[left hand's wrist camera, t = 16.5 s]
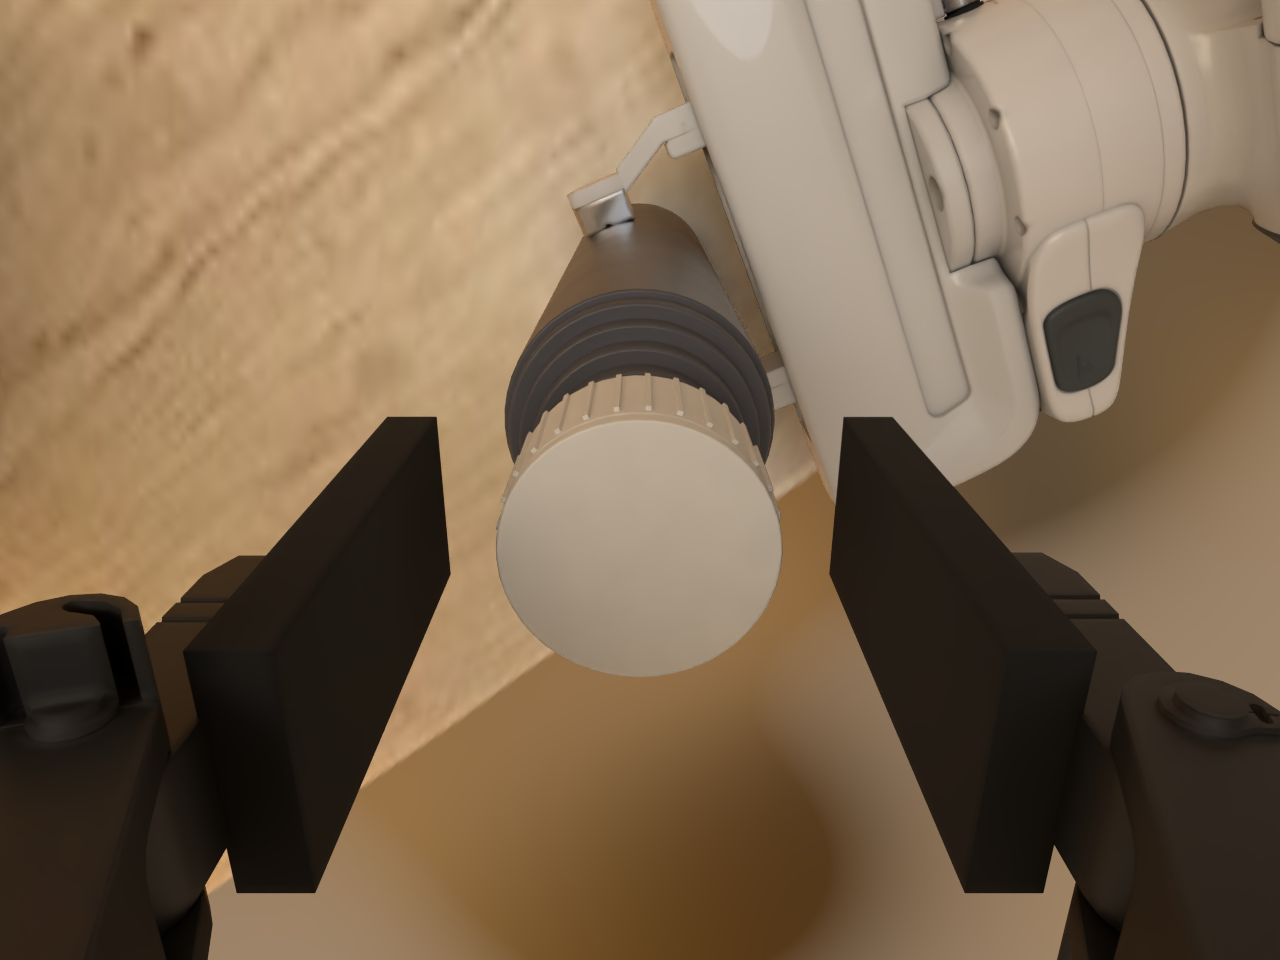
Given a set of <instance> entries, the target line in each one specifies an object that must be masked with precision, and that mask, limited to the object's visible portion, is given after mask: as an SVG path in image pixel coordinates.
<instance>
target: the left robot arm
mask: <svg viewBox="0 0 1280 960" xmlns="http://www.w3.org/2000/svg"><path fill="white" fill-rule="evenodd" d="M450 574H451V573H450V562H449V551H448V540H447V528H446V517H445V506H444V495H443V484H442V473H441V461H440V450H439V439H438V428H437V417H387V418H386V419H385V420H384V421H383V422H382V424H381V425H380V426H379V427H378V428H377V429H376V430H375V432H374V433H373V434H372V435H371V436H370V437H369V438H368V440H367V441H366V442H365V443H364V444H363V445H362V447H361V448H360V449H359V450H358V451H357V452H356V453H355V455H354V456H353V457H352V458H351V459H350V460H349V461H348V463H347V464H346V465H345V466H344V467H343V468H342V469H341V471H340V472H339V473H338V474H337V475H336V476H335V477H334V479H333V480H332V481H331V482H330V483H329V484H328V485H327V487H326V488H325V489H324V490H323V491H322V492H321V493H320V495H319V496H318V497H317V498H316V499H315V500H314V501H313V503H312V504H311V505H310V506H309V507H308V508H307V509H306V511H305V512H304V513H303V514H302V515H301V516H300V517H299V519H298V520H297V521H296V522H295V523H294V524H293V525H292V527H291V528H290V529H289V530H288V531H287V532H286V533H285V535H284V536H283V537H282V538H281V539H280V540H279V541H278V543H277V544H276V545H275V546H274V547H273V548H272V549H271V551H270V552H269V553H268V554H267V555H266V556H237V557H236V558H234V559H232V560H230V561H228V562H226V563H225V564H223V565H221V566H219V567H217V568H215V569H214V570H212V571H210V572H208V573H206V574H205V575H203V576H202V577H201V578H200V579H199V580H198V581H197V582H196V583H195V584H194V585H193V586H192V587H191V588H190V589H189V590H188V591H187V592H186V593H185V594H184V595H183V596H182V597H181V602H180V603H176V604H175V605H174V606H173V607H172V608H171V609H170V610H169V611H168V612H167V613H166V614H165V615H164V616H163V617H162V622H157V623H156V624H155V625H154V626H153V627H152V628H151V629H150V630H149V631H148V632H147V633H146V634H144V630H143V626H142V622H141V617H140V613H139V609H138V606H137V605H135V604H134V603H132V602H131V601H129V600H128V599H126V598H125V597H119V596H113V595H107V594H101V593H100V594H83V595H69V596H64V597H59V598H54V599H49V600H45V601H40V602H35V603H32V604H30V605H27V606H24V607H21V608H18V609H15V610H13V611H10V612H7V613H4V614H1V615H0V960H208V953H209V946H210V939H211V932H212V917H211V910H210V904H209V900H208V896H207V892H206V887H205V884H206V883H207V881H208V879H209V878H210V876H211V874H212V872H213V871H214V869H215V867H216V865H217V864H218V862H219V860H220V858H221V857H222V855H223V853H224V851H225V850H226V848H227V852H228V856H229V861H230V865H231V870H232V874H233V879H234V883H235V887H236V892H237V893H315V892H316V890H317V888H318V885H319V883H320V880H321V878H322V876H323V873H324V871H325V869H326V866H327V864H328V862H329V859H330V857H331V855H332V852H333V850H334V847H335V845H336V843H337V840H338V838H339V836H340V833H341V831H342V829H343V826H344V824H345V821H346V819H347V817H348V815H349V812H350V810H351V807H352V805H353V803H354V800H355V798H356V796H357V793H358V791H359V789H360V786H361V784H362V782H363V779H364V777H365V774H366V772H367V770H368V767H369V765H370V763H371V760H372V758H373V756H374V753H375V751H376V749H377V746H378V744H379V742H380V739H381V737H382V734H383V732H384V730H385V727H386V725H387V723H388V720H389V718H390V716H391V713H392V711H393V709H394V706H395V704H396V701H397V699H398V697H399V694H400V692H401V690H402V687H403V685H404V683H405V680H406V678H407V676H408V673H409V671H410V668H411V666H412V664H413V661H414V659H415V657H416V654H417V652H418V650H419V647H420V645H421V643H422V640H423V638H424V635H425V633H426V631H427V628H428V626H429V624H430V621H431V619H432V617H433V614H434V612H435V610H436V607H437V605H438V603H439V600H440V598H441V595H442V593H443V591H444V588H445V586H446V584H447V581H448V579H449V577H450ZM829 574H830V577H831V579H832V581H833V584H834V586H835V588H836V591H837V593H838V595H839V598H840V600H841V603H842V605H843V607H844V610H845V612H846V614H847V617H848V619H849V621H850V624H851V626H852V628H853V631H854V633H855V635H856V638H857V640H858V643H859V645H860V647H861V649H862V652H863V654H864V657H865V659H866V661H867V664H868V666H869V668H870V671H871V673H872V676H873V678H874V680H875V682H876V685H877V687H878V690H879V692H880V694H881V697H882V699H883V701H884V704H885V706H886V709H887V711H888V713H889V716H890V718H891V720H892V723H893V725H894V727H895V730H896V732H897V734H898V737H899V739H900V742H901V744H902V746H903V749H904V751H905V753H906V756H907V758H908V760H909V763H910V765H911V767H912V770H913V772H914V774H915V777H916V779H917V782H918V784H919V786H920V789H921V791H922V793H923V796H924V798H925V800H926V803H927V805H928V807H929V810H930V812H931V814H932V817H933V819H934V822H935V824H936V826H937V829H938V831H939V833H940V836H941V838H942V840H943V843H944V845H945V847H946V850H947V852H948V854H949V857H950V859H951V862H952V864H953V866H954V869H955V871H956V873H957V876H958V878H959V880H960V883H961V885H962V888H963V890H964V892H965V893H1043V892H1044V887H1045V883H1046V878H1047V874H1048V870H1049V865H1050V861H1051V856H1052V852H1053V847H1054V845H1055V847H1056V848H1057V850H1058V852H1059V854H1060V855H1061V857H1062V859H1063V860H1064V862H1065V864H1066V866H1067V867H1068V869H1069V871H1070V873H1071V874H1072V876H1073V878H1074V880H1075V881H1076V883H1075V887H1074V892H1073V896H1072V900H1071V904H1070V908H1069V912H1068V917H1067V921H1066V925H1065V929H1064V933H1063V937H1062V941H1061V946H1060V950H1059V954H1058V958H1057V960H1280V711H1279V710H1277V709H1276V708H1274V707H1272V706H1271V705H1269V704H1268V703H1266V702H1265V701H1263V700H1262V699H1260V698H1259V697H1257V696H1255V695H1254V694H1252V693H1249V692H1247V691H1244V690H1242V689H1240V688H1237V687H1235V686H1233V685H1230V684H1228V683H1225V682H1223V681H1220V680H1216V679H1212V678H1208V677H1203V676H1199V675H1195V674H1191V673H1182V672H1175V671H1174V670H1173V669H1172V668H1171V667H1170V666H1169V665H1168V664H1167V663H1166V662H1165V660H1164V659H1163V658H1162V657H1161V656H1160V655H1159V654H1158V653H1157V652H1156V651H1155V650H1154V649H1153V648H1152V647H1151V646H1150V645H1149V644H1148V643H1147V642H1146V641H1145V640H1144V639H1143V638H1142V637H1141V636H1140V635H1139V634H1138V633H1137V632H1136V631H1135V630H1134V629H1133V628H1132V627H1131V626H1130V625H1129V624H1128V623H1127V622H1126V621H1125V620H1124V619H1119V614H1118V613H1117V612H1116V611H1115V610H1114V609H1113V608H1112V607H1111V606H1110V605H1109V604H1108V603H1107V602H1106V601H1105V600H1100V594H1099V593H1098V592H1097V591H1095V589H1094V588H1093V587H1092V586H1091V585H1090V584H1089V583H1088V582H1087V581H1086V580H1085V579H1084V578H1083V577H1082V576H1081V575H1080V574H1079V573H1078V572H1076V571H1074V570H1073V569H1071V568H1069V567H1067V566H1065V565H1063V564H1062V563H1060V562H1058V561H1056V560H1054V559H1052V558H1051V557H1049V556H1047V555H1045V554H1043V553H1011V552H1010V551H1009V549H1008V548H1007V547H1006V546H1005V545H1004V544H1003V543H1002V541H1001V540H1000V539H999V538H998V537H997V536H996V535H995V533H994V532H993V531H992V530H991V529H990V528H989V527H988V526H987V524H986V523H985V522H984V521H983V520H982V519H981V517H980V516H979V515H978V514H977V513H976V512H975V511H974V509H973V508H972V507H971V506H970V505H969V504H968V503H967V501H966V500H965V499H964V498H963V497H962V496H961V495H960V493H959V492H958V491H957V490H956V489H955V488H954V487H953V485H952V484H951V483H950V482H949V481H948V480H947V479H946V477H945V476H944V475H943V474H942V473H941V472H940V471H939V469H938V468H937V467H936V466H935V465H934V464H933V463H932V461H931V460H930V459H929V458H928V457H927V456H926V455H925V453H924V452H923V451H922V450H921V449H920V448H919V447H918V445H917V444H916V443H915V442H914V441H913V440H912V438H911V437H910V436H909V435H908V434H907V433H906V432H905V430H904V429H903V428H902V427H901V426H900V425H899V424H898V422H897V421H896V420H895V419H894V418H893V417H843V428H842V439H841V450H840V461H839V473H838V484H837V495H836V506H835V518H834V529H833V540H832V551H831V562H830V573H829Z"/></svg>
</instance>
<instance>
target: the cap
mask: <svg viewBox="0 0 1280 960" xmlns="http://www.w3.org/2000/svg"><path fill="white" fill-rule="evenodd" d="M501 502H503V503H504V506H503V509H502V511H501V514H500V517H499V520H498V523H497V527H496V530H498V531H497V540H496V556H497V565H498V570H499V576H500V579H501V582H502V585H503V588H504V591H505V594H506V596H507V598H508V600H509V602H510V604H511V606H512V608H513V609H514V611H515V612H516V614H517V615H518V617H519V618H520V620H521V621H522V622H523V624H524V625H525V626H526V627H527V628H528V629H529V630H530V632H531V633H532V634H533V635H534V636H535V637H536V638H538V639H539V640H540V641H541V642H542V643H543V644H544V645H546V646H547V647H548V648H550V649H551V650H553V651H554V652H556V653H557V654H559V655H560V656H562V657H564V658H566V659H568V660H570V661H572V662H573V663H575V664H578V665H581V666H583V667H586V668H588V669H591V670H595V671H599V672H602V673H606V674H611V675H619V676H626V677H650V676H662V675H667V674H672V673H677V672H681V671H684V670H687V669H690V668H693V667H696V666H698V665H701V664H703V663H705V662H707V661H709V660H711V659H713V658H715V657H716V656H718V655H720V654H722V653H723V652H725V651H726V650H728V649H729V648H730V647H731V646H733V645H734V644H735V643H737V642H738V641H739V640H740V639H741V638H742V637H743V636H744V635H745V634H746V633H747V632H748V631H749V630H750V629H751V628H752V627H753V626H754V624H755V623H756V622H757V620H758V619H759V618H760V617H761V615H762V614H763V612H764V610H765V608H766V607H767V605H768V603H769V601H770V600H771V597H772V595H773V592H774V590H775V587H776V585H777V581H778V577H779V573H780V570H781V561H782V552H783V551H782V533H781V528H780V522H779V518H781V514H780V511H779V508H778V505H777V502H776V500H775V497H774V494H773V487H772V484H771V481H770V479H769V476H768V473H767V471H766V468H765V465H764V462H763V460H762V457H761V454H760V452H759V449H758V447H757V445H755V446H753V445H752V442H751V439H750V436H749V434H748V431H747V428H746V425H745V424H744V423H743V422H742V423H741V424H740V423H739V422H738V420H737V419H736V418H735V417H734V416H733V415H732V414H731V413H730V412H729V408H728V406H727V405H726V404H725V403H723V404H722V405H721V404H720V403H719V402H718V401H716V400H715V399H714V398H712V397H711V396H709V395H707V394H706V392H705V389H703V388H701V387H700V389H697V388H694V387H692V386H690V385H688V384H685V383H682V382H679V379H678V378H675V377H674V378H673V380H672V379H668V378H662V377H656V376H651V374H650V373H645V376H641V375H633V376H623V377H622V374H618V375H616V378H611V379H607V380H603V381H600V382H597V383H594V381H591V382H589V383H588V386H586V387H584V388H582V389H580V390H579V391H577V392H575V393H573V394H571V395H569V394H568V393H567V394H566V395H564V397H563V400H562V401H561V402H560V403H558V404H557V405H556V406H555V407H554V408H553V409H552V410H551V411H550V412H548V411H545V412H544V413H543V415H542V418H541V421H540V423H539V424H538V426H537V427H536V429H535V430H534V432H533V433H531V432H529V433H528V434H527V437H526V439H525V442H524V445H523V447H522V450H521V453H520V456H519V455H518V456H517V459H516V462H515V465H514V467H513V470H512V473H511V475H510V478H509V481H508V483H507V486H506V489H505V491H504V494H503V497H502V500H501Z"/></svg>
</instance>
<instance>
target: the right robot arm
mask: <svg viewBox="0 0 1280 960" xmlns="http://www.w3.org/2000/svg"><path fill="white" fill-rule="evenodd" d="M650 3H651V6H652V9H653V12H654V14H655V17H656V20H657V23H658V25H659V28H660V31H661V34H662V37H663V39H664V42H665V45H666V48H667V51H668V53H669V56H670V59H671V62H672V65H673V67H674V70H675V73H676V76H677V79H678V81H679V84H680V87H681V90H682V93H683V95H684V98H685V101H686V103H685V104H683V105H681V106H678V107H676V108H674V109H672V110H669V111H667V112H665V113H662V114H660V115H658V116H656V117H654V118H653V119H652V120H651V122H650V123H649V125H648V126H647V127H646V129H645V130H644V131H643V133H642V134H641V136H640V137H639V138H638V140H637V141H636V142H635V144H634V145H633V147H632V148H631V149H630V151H629V152H628V153H627V155H626V156H625V158H624V159H623V160H622V162H621V163H620V164H619V166H618V167H617V169H616V170H617V172H615V173H613V174H610V175H608V176H606V177H604V178H601V179H599V180H597V181H594V182H592V183H590V184H587V185H585V186H583V187H581V188H579V189H577V190H575V191H573V192H571V193H569V194H568V195H567V197H568V199H569V202H570V204H571V207H572V209H573V211H574V214H575V216H576V218H577V221H578V223H579V225H580V227H581V230H582V232H583V234H584V236H585V237H589V236H592V235H595V234H597V233H599V232H600V231H602V230H604V228H605V227H606V225H607V224H611V225H616V224H620V223H623V222H625V221H628V220H630V219H632V218H634V210H633V208H632V205H631V202H630V200H629V197H628V194H627V191H628V190H629V189H630V187H631V186H632V185H633V183H634V182H635V181H636V179H637V178H638V176H639V175H640V174H641V172H642V171H643V170H644V168H645V167H646V166H647V164H648V163H649V162H650V160H651V159H652V158H653V156H654V155H655V153H656V152H657V151H658V149H659V148H660V147H661V145H662V144H663V143H664V142H665V148H666V150H667V153H668V155H669V156H670V157H671V158H674V159H676V158H679V157H681V156H683V155H686V154H688V153H691V152H693V151H696V150H698V149H700V148H703V151H704V154H705V157H706V160H707V162H708V165H709V168H710V171H711V173H712V176H713V179H714V182H715V185H716V187H717V190H718V193H719V196H720V199H721V201H722V204H723V207H724V210H725V213H726V215H727V218H728V221H729V224H730V227H731V229H732V232H733V235H734V238H735V241H736V243H737V246H738V249H739V252H740V254H741V257H742V260H743V263H744V266H745V268H746V271H747V274H748V277H749V280H750V282H751V285H752V288H753V291H754V294H755V296H756V299H757V302H758V305H759V308H760V310H761V313H762V316H763V319H764V321H765V324H766V327H767V330H768V333H769V335H770V338H771V341H772V344H773V347H774V349H775V352H773V353H771V354H768V355H766V356H763V357H761V358H760V360H761V363H762V365H763V367H764V369H765V371H766V374H767V377H768V380H769V383H770V386H771V390H772V396H773V402H774V411H775V410H778V409H780V408H783V407H786V406H788V405H791V404H794V405H795V408H796V411H797V414H798V416H799V419H800V422H801V425H802V428H803V430H804V433H805V436H806V439H807V442H808V444H809V447H810V450H811V453H812V456H813V458H814V461H815V464H816V467H817V469H818V472H819V475H820V477H821V480H822V482H823V484H824V487H825V489H826V491H827V493H828V495H829V496H830V498H831V500H832V502H833V503H834V505H835V506H836V495H837V484H838V473H839V461H840V450H841V439H842V428H843V417H893V418H894V419H895V420H896V421H897V422H898V424H899V425H900V426H901V427H902V428H903V429H904V430H905V432H906V433H907V434H908V435H909V436H910V437H911V438H912V440H913V441H914V442H915V443H916V444H917V445H918V447H919V448H920V449H921V450H922V451H923V452H924V453H925V455H926V456H927V457H928V458H929V459H930V460H931V461H932V463H933V464H934V465H935V466H936V467H937V468H938V469H939V471H940V472H941V473H942V474H943V475H944V476H945V477H946V479H947V480H948V481H949V482H950V483H951V484H952V485H953V487H955V486H957V485H959V484H961V483H963V482H965V481H967V480H970V479H972V478H974V477H976V476H978V475H980V474H982V473H984V472H986V471H988V470H990V469H992V468H994V467H995V466H997V465H999V464H1000V463H1002V462H1004V461H1005V460H1006V459H1008V458H1009V457H1011V456H1012V455H1013V454H1014V453H1016V452H1017V451H1018V450H1019V449H1020V448H1021V447H1022V446H1023V445H1024V444H1025V442H1026V441H1027V440H1028V439H1029V437H1030V436H1031V434H1032V432H1033V430H1034V428H1035V426H1036V423H1037V420H1038V416H1039V411H1040V412H1042V413H1044V414H1046V415H1048V416H1050V417H1052V418H1054V419H1057V420H1059V421H1062V422H1077V421H1081V420H1084V419H1087V418H1090V417H1092V416H1096V415H1098V414H1100V413H1102V412H1104V411H1105V410H1107V409H1108V408H1109V407H1110V406H1111V405H1112V404H1113V402H1114V401H1115V399H1116V396H1117V394H1118V390H1119V385H1120V379H1121V372H1122V364H1123V355H1124V347H1125V339H1126V332H1127V325H1128V318H1129V311H1130V305H1131V299H1132V293H1133V288H1134V283H1135V278H1136V273H1137V268H1138V264H1139V260H1140V255H1141V251H1142V247H1143V244H1144V243H1146V242H1149V241H1152V240H1154V239H1156V238H1158V237H1160V236H1161V235H1163V234H1164V233H1166V232H1168V231H1169V230H1171V229H1172V228H1174V227H1175V226H1177V225H1178V224H1180V223H1182V222H1183V221H1185V220H1187V219H1188V218H1190V217H1192V216H1193V215H1196V214H1198V213H1201V212H1203V211H1206V210H1208V209H1212V208H1216V207H1221V206H1240V207H1242V208H1244V209H1246V210H1247V211H1249V212H1250V213H1251V215H1252V216H1253V218H1254V219H1253V221H1252V224H1253V226H1254V227H1255V228H1257V229H1258V230H1259V231H1261V232H1262V233H1264V234H1265V235H1267V236H1269V237H1270V238H1272V239H1273V240H1275V241H1276V242H1278V243H1280V0H989V1H986V2H983V1H982V2H980V0H650ZM945 14H947V17H945V18H944V19H945V20H944V21H941V22H938V23H937V22H936V19H938V18H941V17H943V16H945Z"/></svg>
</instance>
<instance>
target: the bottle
mask: <svg viewBox="0 0 1280 960" xmlns="http://www.w3.org/2000/svg"><path fill="white" fill-rule="evenodd" d="M631 205H632V208H633V210H634V218H632V219H630V220H628V221H625V222H623V223H620V224H616V225H611V224H607V225H606V227H605V228H604V230H602V231H600V232H599V233H597V234H595V235H592V236H589V237H585V236H584V237H583V238H582V240H581V242H580V244H579V246H578V248H577V250H576V251H575V253H574V255H573V257H572V259H571V261H570V263H569V265H568V267H567V269H566V271H565V272H564V274H563V276H562V278H561V280H560V282H559V284H558V286H557V288H556V290H555V292H554V293H553V295H552V297H551V299H550V301H549V303H548V305H547V307H546V309H545V311H544V313H543V314H542V316H541V318H540V320H539V322H538V324H537V326H536V328H535V330H534V332H533V333H532V335H531V337H530V339H529V341H528V343H527V345H526V347H525V349H524V351H523V353H522V354H521V356H520V358H519V360H518V362H517V365H516V367H515V369H514V372H513V374H512V376H511V380H510V384H509V387H508V391H507V397H506V405H505V430H506V437H507V444H508V447H509V450H510V454H511V457H512V460H513V463H514V465H515V462H516V459H517V456H518V455H519V456H520V453H521V450H522V447H523V445H524V442H525V439H526V437H527V434H528V433H529V432H531V433H533V432H534V430H535V429H536V427H537V426H538V424H539V423H540V421H541V418H542V415H543V413H544V412H545V411H548V412H550V411H551V410H552V409H553V408H554V407H555V406H556V405H557V404H558V403H560V402H561V401H562V400H563V397H564V395H566V394H567V393H568V394H569V395H571V394H573V393H575V392H577V391H579V390H580V389H582V388H584V387H586V386H588V383H589V382H591V381H594V383H597V382H600V381H603V380H607V379H611V378H616V375H618V374H622V377H623V376H633V375H641V376H645V373H650V374H651V376H656V377H662V378H668V379H672V380H673V378H674V377H675V378H678V379H679V382H682V383H685V384H688V385H690V386H692V387H694V388H697V389H700V387H701V388H703V389H705V392H706V394H707V395H709V396H711V397H712V398H714V399H715V400H716V401H718V402H719V403H720V404H721V405H722V404H723V403H725V404H726V405H727V406H728V408H729V412H730V413H731V414H732V415H733V416H734V417H735V418H736V419H737V420H738V422H739V423H740V424H741V423H742V422H743V423H744V424H745V425H746V428H747V431H748V434H749V436H750V439H751V442H752V445H753V446H755V445H757V447H758V449H759V452H760V454H761V457H762V460H763V462H764V465H765V463H766V460H767V458H768V455H769V451H770V447H771V443H772V439H773V431H774V402H773V396H772V390H771V386H770V383H769V380H768V377H767V374H766V371H765V369H764V367H763V365H762V363H761V360H760V358H759V356H758V354H757V352H756V350H755V348H754V347H753V345H752V343H751V341H750V339H749V337H748V335H747V333H746V331H745V329H744V327H743V325H742V323H741V321H740V320H739V318H738V316H737V314H736V312H735V310H734V308H733V306H732V304H731V302H730V300H729V298H728V296H727V294H726V293H725V291H724V289H723V287H722V285H721V283H720V281H719V279H718V277H717V275H716V273H715V271H714V269H713V267H712V265H711V264H710V262H709V260H708V258H707V256H706V254H705V252H704V250H703V248H702V246H701V244H700V242H699V240H698V238H697V237H696V235H695V234H694V232H693V231H692V229H691V228H690V227H689V226H688V225H687V223H686V222H684V221H683V220H682V219H681V218H680V217H678V216H677V215H675V214H674V213H673V212H671V211H668V210H666V209H664V208H661V207H658V206H655V205H649V204H631Z"/></svg>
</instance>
